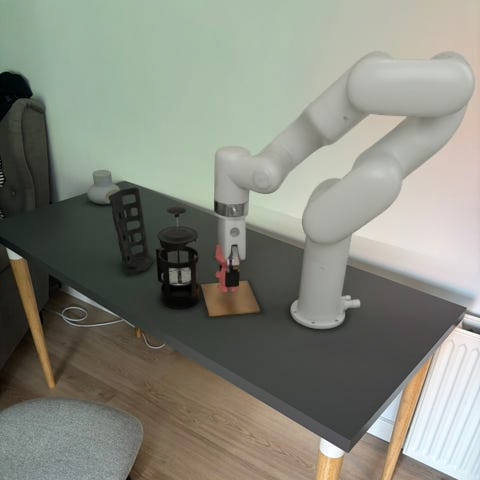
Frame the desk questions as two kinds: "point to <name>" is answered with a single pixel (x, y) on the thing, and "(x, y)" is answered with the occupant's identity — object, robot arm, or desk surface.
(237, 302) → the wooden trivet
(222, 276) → the cat figurine
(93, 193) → the air freshener
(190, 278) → the french press
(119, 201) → the holder
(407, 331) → the desk surface
